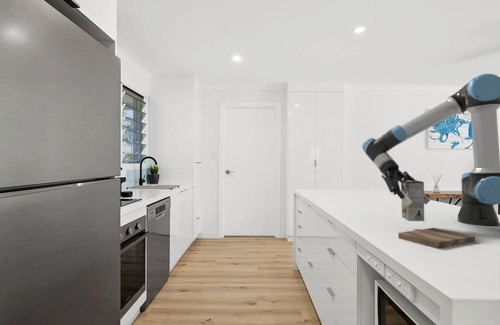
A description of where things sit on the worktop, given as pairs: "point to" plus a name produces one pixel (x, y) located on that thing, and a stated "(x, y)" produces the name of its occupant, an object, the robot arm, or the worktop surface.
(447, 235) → the walnut board
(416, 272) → the worktop surface
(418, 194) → the coffee box
